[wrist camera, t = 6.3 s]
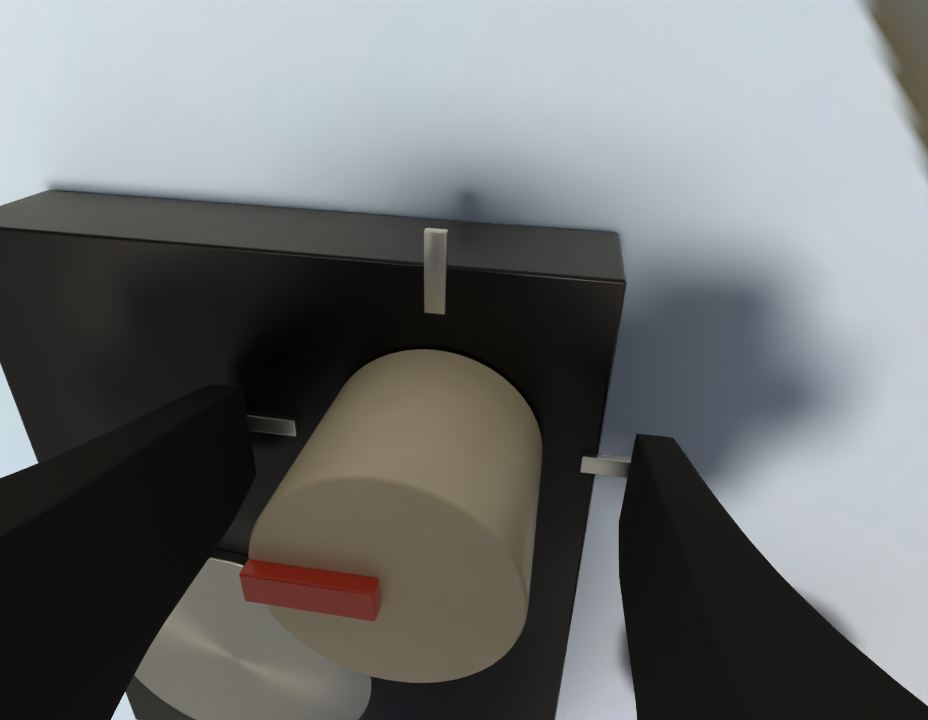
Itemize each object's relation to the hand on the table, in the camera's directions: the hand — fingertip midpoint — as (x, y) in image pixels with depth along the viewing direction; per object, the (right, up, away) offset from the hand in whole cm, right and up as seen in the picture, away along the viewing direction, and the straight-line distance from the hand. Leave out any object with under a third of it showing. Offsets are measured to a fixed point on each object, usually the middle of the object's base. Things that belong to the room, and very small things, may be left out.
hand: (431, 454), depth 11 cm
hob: (-3, -2, +5) cm, 6 cm away
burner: (-5, -6, +5) cm, 9 cm away
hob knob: (0, 0, 0) cm, 0 cm away
